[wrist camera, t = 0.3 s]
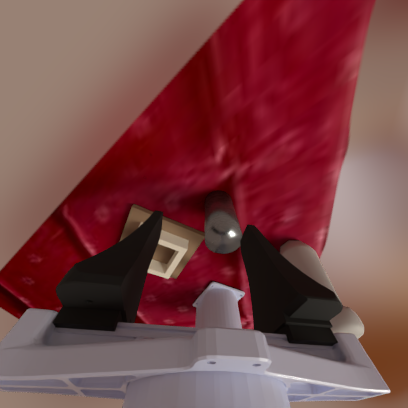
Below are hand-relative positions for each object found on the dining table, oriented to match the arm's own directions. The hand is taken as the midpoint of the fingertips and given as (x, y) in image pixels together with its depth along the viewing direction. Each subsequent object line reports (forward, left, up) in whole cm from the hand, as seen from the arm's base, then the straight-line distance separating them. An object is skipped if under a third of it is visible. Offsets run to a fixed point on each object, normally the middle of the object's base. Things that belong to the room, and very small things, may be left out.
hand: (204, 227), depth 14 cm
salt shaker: (-4, -19, -10) cm, 22 cm away
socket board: (-14, +2, -10) cm, 17 cm away
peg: (-2, -3, -10) cm, 11 cm away
